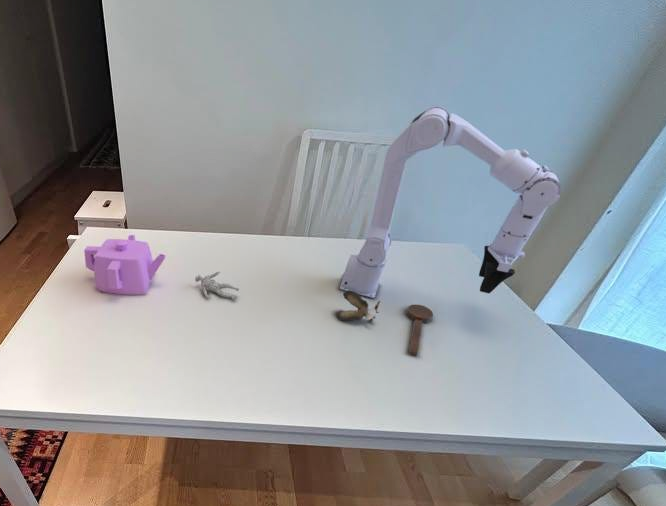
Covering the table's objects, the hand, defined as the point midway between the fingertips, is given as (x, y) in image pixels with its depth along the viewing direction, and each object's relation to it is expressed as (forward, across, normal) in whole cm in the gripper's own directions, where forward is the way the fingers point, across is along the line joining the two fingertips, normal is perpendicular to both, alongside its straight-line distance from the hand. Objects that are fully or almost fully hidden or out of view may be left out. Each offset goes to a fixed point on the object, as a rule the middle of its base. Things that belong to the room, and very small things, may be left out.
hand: (483, 284), depth 93 cm
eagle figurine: (+10, -14, +25) cm, 31 cm away
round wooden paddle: (+10, -12, +11) cm, 19 cm away
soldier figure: (+10, -21, +61) cm, 66 cm away
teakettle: (+10, -28, +85) cm, 90 cm away
